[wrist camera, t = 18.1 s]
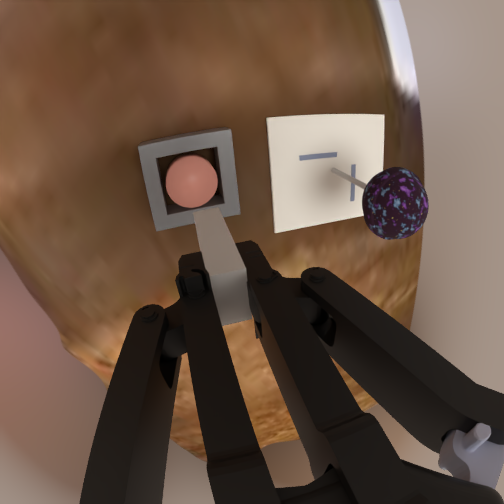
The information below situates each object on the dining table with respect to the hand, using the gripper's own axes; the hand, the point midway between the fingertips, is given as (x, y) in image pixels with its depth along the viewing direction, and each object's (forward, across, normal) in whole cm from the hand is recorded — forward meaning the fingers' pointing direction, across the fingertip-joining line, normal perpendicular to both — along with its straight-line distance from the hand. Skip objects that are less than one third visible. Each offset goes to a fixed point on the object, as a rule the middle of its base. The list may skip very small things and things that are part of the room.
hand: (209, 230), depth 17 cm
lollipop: (+16, +17, -3) cm, 23 cm away
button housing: (+16, 0, -1) cm, 16 cm away
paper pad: (+16, +17, -3) cm, 23 cm away
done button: (+15, 0, -1) cm, 15 cm away
